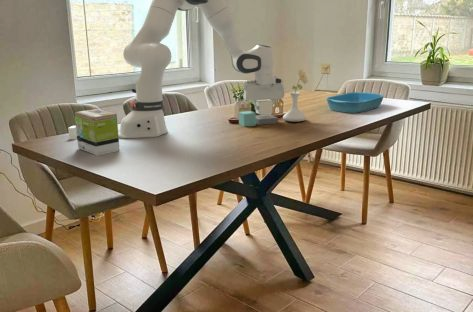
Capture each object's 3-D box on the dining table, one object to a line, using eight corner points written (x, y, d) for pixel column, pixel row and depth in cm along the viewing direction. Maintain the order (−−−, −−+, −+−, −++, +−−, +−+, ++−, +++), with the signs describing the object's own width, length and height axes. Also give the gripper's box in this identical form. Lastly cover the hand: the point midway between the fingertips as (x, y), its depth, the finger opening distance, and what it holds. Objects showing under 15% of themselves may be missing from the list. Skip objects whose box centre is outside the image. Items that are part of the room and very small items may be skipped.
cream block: (260, 114, 229) (260, 102, 228) (255, 112, 235) (255, 100, 233) (272, 113, 231) (272, 101, 230) (267, 111, 237) (267, 99, 235)
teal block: (243, 126, 224) (243, 114, 223) (239, 124, 230) (238, 111, 228) (255, 125, 226) (255, 113, 225) (250, 123, 232) (250, 110, 230)
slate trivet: (258, 124, 228) (258, 119, 227) (250, 120, 237) (250, 115, 236) (277, 122, 231) (278, 117, 231) (269, 119, 240) (269, 114, 240)
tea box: (77, 149, 187) (73, 111, 183) (100, 144, 194) (97, 108, 190) (96, 156, 177) (93, 116, 173) (120, 151, 184) (117, 112, 180)
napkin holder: (86, 132, 218) (85, 120, 216) (100, 136, 210) (98, 123, 209) (54, 138, 208) (53, 125, 206) (67, 142, 200) (66, 129, 198)
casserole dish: (355, 116, 247) (356, 102, 245) (318, 111, 262) (319, 98, 260) (389, 106, 273) (390, 94, 271) (354, 102, 288) (355, 90, 286)
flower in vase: (294, 124, 228) (295, 70, 221) (277, 121, 236) (278, 69, 230) (313, 120, 236) (315, 68, 229) (296, 117, 244) (297, 67, 237)
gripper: (246, 81, 222) (246, 111, 226) (286, 79, 230) (285, 108, 233) (241, 80, 228) (241, 109, 232) (280, 78, 235) (279, 106, 239)
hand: (264, 109), depth 233 cm, fingers closed on cream block, 6 cm apart
